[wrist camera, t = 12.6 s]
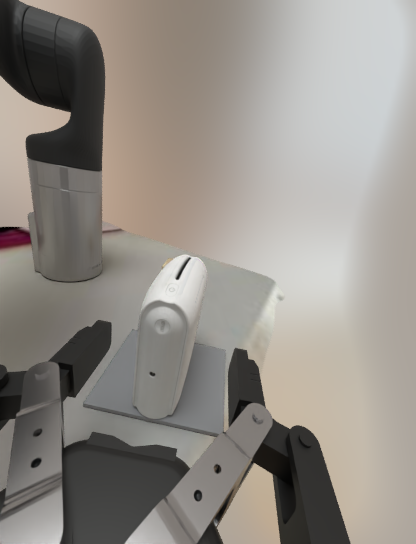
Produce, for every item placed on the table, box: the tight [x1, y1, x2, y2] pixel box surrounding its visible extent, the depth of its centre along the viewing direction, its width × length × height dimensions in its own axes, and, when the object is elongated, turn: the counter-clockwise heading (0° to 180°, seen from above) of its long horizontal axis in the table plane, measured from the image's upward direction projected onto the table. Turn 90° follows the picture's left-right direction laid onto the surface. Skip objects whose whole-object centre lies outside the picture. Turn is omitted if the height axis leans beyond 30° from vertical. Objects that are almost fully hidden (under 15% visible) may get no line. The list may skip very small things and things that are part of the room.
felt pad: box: [83, 329, 225, 437], centre depth 23 cm, size 12×10×1 cm
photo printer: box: [132, 255, 207, 419], centre depth 20 cm, size 10×4×12 cm, turn 173°
